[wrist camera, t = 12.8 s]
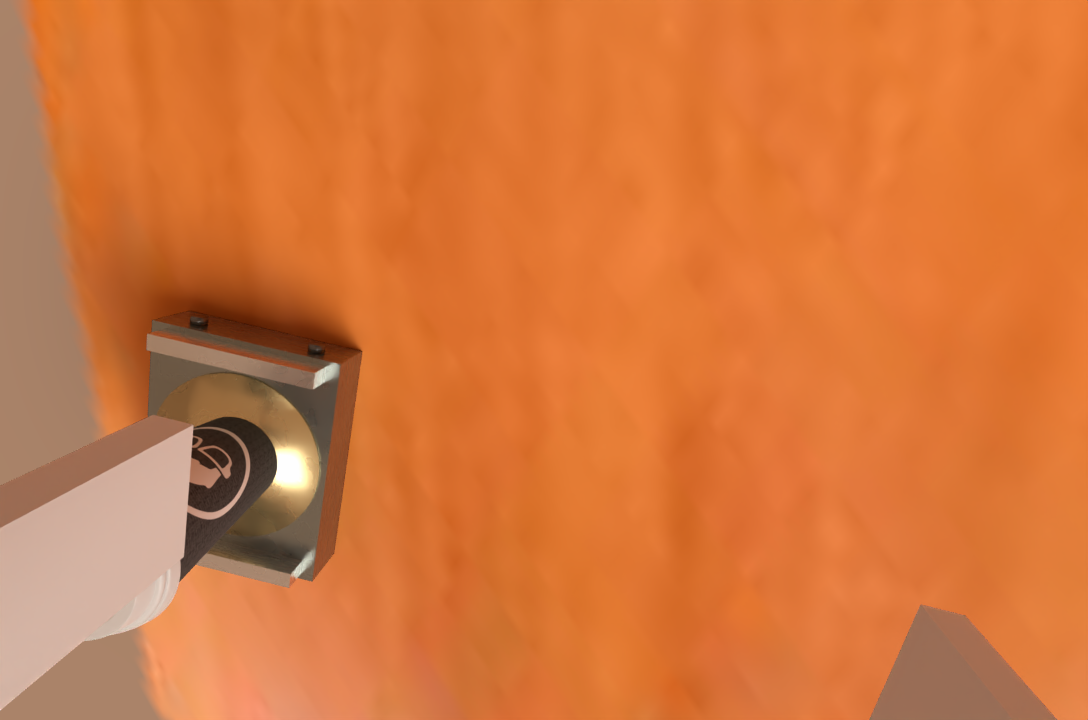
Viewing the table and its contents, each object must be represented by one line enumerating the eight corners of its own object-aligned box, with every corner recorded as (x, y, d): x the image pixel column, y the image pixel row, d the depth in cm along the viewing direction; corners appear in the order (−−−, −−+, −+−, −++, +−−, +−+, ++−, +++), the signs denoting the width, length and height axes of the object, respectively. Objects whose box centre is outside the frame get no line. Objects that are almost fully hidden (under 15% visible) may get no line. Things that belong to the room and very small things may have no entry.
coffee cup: (153, 417, 45) (-60, 515, 31) (264, 379, 44) (96, 463, 29) (209, 530, 47) (33, 672, 33) (318, 497, 46) (184, 631, 31)
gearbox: (189, 303, 47) (134, 316, 42) (363, 343, 47) (330, 362, 41) (176, 514, 52) (124, 551, 47) (333, 553, 52) (301, 595, 46)
